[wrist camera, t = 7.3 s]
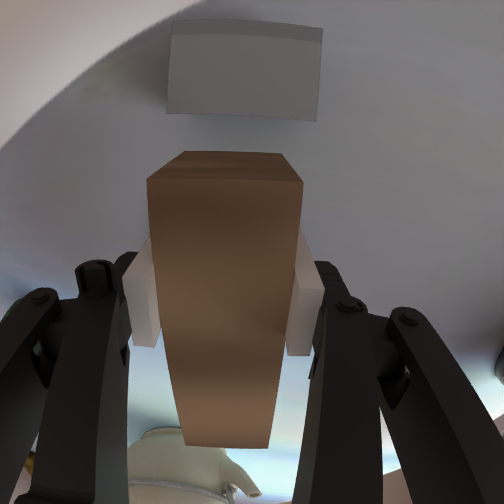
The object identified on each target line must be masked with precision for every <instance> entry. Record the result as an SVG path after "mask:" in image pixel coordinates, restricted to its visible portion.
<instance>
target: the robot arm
mask: <svg viewBox="0 0 504 504" xmlns="http://www.w3.org/2000/svg"><path fill="white" fill-rule="evenodd" d="M75 274H76V279H77V284H78V288H79V295H78V298H75V299H65V300H59V297H58V293H57V292H56V291H55V290H54V289H52V288H44V287H43V288H37V289H35V290H34V291H31V292H30V293H28V294H27V295H26V296H25V297H24V298H23V299H22V300H21V301H20V302H19V303H18V305H17V306H16V307H15V308H14V309H13V310H12V311H11V312H10V313H9V315H8V316H7V317H6V318H5V319H4V320H3V321H2V323H1V324H0V504H9V501H10V499H11V496H12V494H13V491H14V488H15V486H16V483H17V481H18V478H19V476H20V473H21V471H22V468H23V466H24V464H25V461H26V459H27V457H28V454H29V452H30V450H31V448H32V445H33V443H34V441H35V439H36V437H37V434H38V432H39V435H38V440H37V446H36V452H35V458H34V464H33V472H32V480H31V486H30V490H29V491H28V493H26V494H22V495H19V496H18V497H17V498H16V500H15V501H14V504H129V490H128V469H127V397H128V375H129V358H130V351H129V346H128V340H129V338H130V335H131V334H132V339H133V344H134V345H135V346H143V347H152V348H155V345H156V342H157V339H158V336H159V333H160V330H161V321H160V315H159V308H158V300H157V293H156V284H155V273H154V264H153V258H152V248H151V237H149V238H148V240H147V241H146V242H145V244H144V245H143V247H142V248H141V250H140V251H139V252H126V253H125V254H123V255H121V256H120V257H119V258H118V259H117V260H116V262H115V263H114V264H113V263H111V262H110V261H107V260H90V261H87V262H84V263H82V264H81V265H79V266H78V267H77V268H76V269H75ZM285 340H286V347H287V353H288V356H310V352H311V348H312V344H313V348H314V352H315V355H314V358H313V362H312V366H311V370H310V373H309V377H308V379H310V387H309V395H308V403H307V411H306V418H305V426H304V433H303V439H302V446H301V452H300V459H299V465H298V471H297V477H296V482H295V488H294V493H293V499H292V504H383V465H382V439H381V422H380V409H381V411H382V414H383V417H384V420H385V422H386V425H387V428H388V431H389V433H390V436H391V439H392V442H393V445H394V448H395V450H396V453H397V456H398V459H399V462H400V465H401V468H402V471H403V474H404V477H405V480H406V483H407V486H408V490H409V493H410V496H411V499H412V502H413V504H504V432H502V433H501V434H500V433H499V431H498V429H497V427H496V425H495V424H494V422H493V420H492V418H491V417H490V415H489V413H488V411H487V410H486V408H485V406H484V405H483V403H482V401H481V400H480V398H479V396H478V395H477V393H476V391H475V390H474V388H473V386H472V385H471V383H470V382H469V380H468V378H467V377H466V375H465V374H464V372H463V371H462V369H461V368H460V366H459V365H458V363H457V362H456V360H455V358H454V357H453V355H452V354H451V353H450V351H449V350H448V348H447V347H446V345H445V344H444V342H443V341H442V339H441V338H440V336H439V335H438V334H437V332H436V331H435V329H434V328H433V327H432V325H431V324H430V322H429V321H428V320H427V318H426V317H425V316H424V315H423V314H422V313H420V312H419V311H417V310H416V309H413V308H410V307H398V308H395V309H393V310H392V312H391V315H390V318H387V317H382V316H377V315H373V314H370V313H368V309H367V307H366V305H365V304H364V303H363V302H362V301H361V300H359V299H357V298H355V297H352V296H351V295H350V293H349V291H348V289H347V287H346V285H345V283H344V282H343V280H342V278H341V276H340V274H339V272H338V270H337V268H336V267H335V266H334V265H332V264H331V263H330V262H327V261H313V258H312V256H311V253H310V251H309V249H308V246H307V244H306V241H305V239H304V237H303V234H302V232H301V230H300V227H299V235H298V244H297V253H296V262H295V270H294V278H293V287H292V295H291V302H290V309H289V315H288V321H287V327H286V333H285ZM36 344H38V347H39V349H40V350H39V351H38V353H37V354H35V353H34V351H33V349H34V347H35V345H36ZM407 370H408V371H409V373H408V371H407ZM409 374H410V375H409ZM495 374H496V376H497V378H498V379H499V380H500V382H501V383H502V384H503V385H504V349H503V351H502V353H501V354H500V356H499V359H498V361H497V364H496V368H495ZM379 406H380V408H379Z"/></svg>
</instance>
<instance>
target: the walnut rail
mask: <svg viewBox="0 0 504 504" xmlns="http://www.w3.org/2000/svg"><path fill="white" fill-rule="evenodd" d="M303 184H304V182H303V181H302V180H301V178H300V177H299V176H298V174H297V173H296V172H295V171H294V169H293V168H292V167H291V165H290V164H289V163H288V162H287V160H286V159H285V158H284V156H283V155H282V154H279V153H259V152H230V151H184V152H183V153H181V154H180V155H178V156H177V157H176V158H174V159H173V160H171V161H170V162H169V163H167V164H166V165H164V166H163V167H162V168H160V169H159V170H158V171H156V172H155V173H154V174H152V175H151V176H150V177H148V178H147V196H148V212H149V225H150V237H151V248H152V258H153V264H154V273H155V284H156V293H157V300H158V308H159V315H160V321H161V328H162V334H163V340H164V346H165V352H166V358H167V363H168V369H169V374H170V379H171V384H172V389H173V394H174V399H175V404H176V408H177V413H178V417H179V422H180V426H181V430H182V434H183V438H184V442H185V445H187V446H199V447H214V448H240V449H268V445H269V439H270V434H271V428H272V422H273V416H274V411H275V405H276V398H277V392H278V386H279V380H280V373H281V367H282V360H283V353H284V346H285V333H286V327H287V321H288V315H289V309H290V302H291V295H292V287H293V278H294V270H295V262H296V253H297V244H298V235H299V225H300V215H301V205H302V195H303Z"/></svg>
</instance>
